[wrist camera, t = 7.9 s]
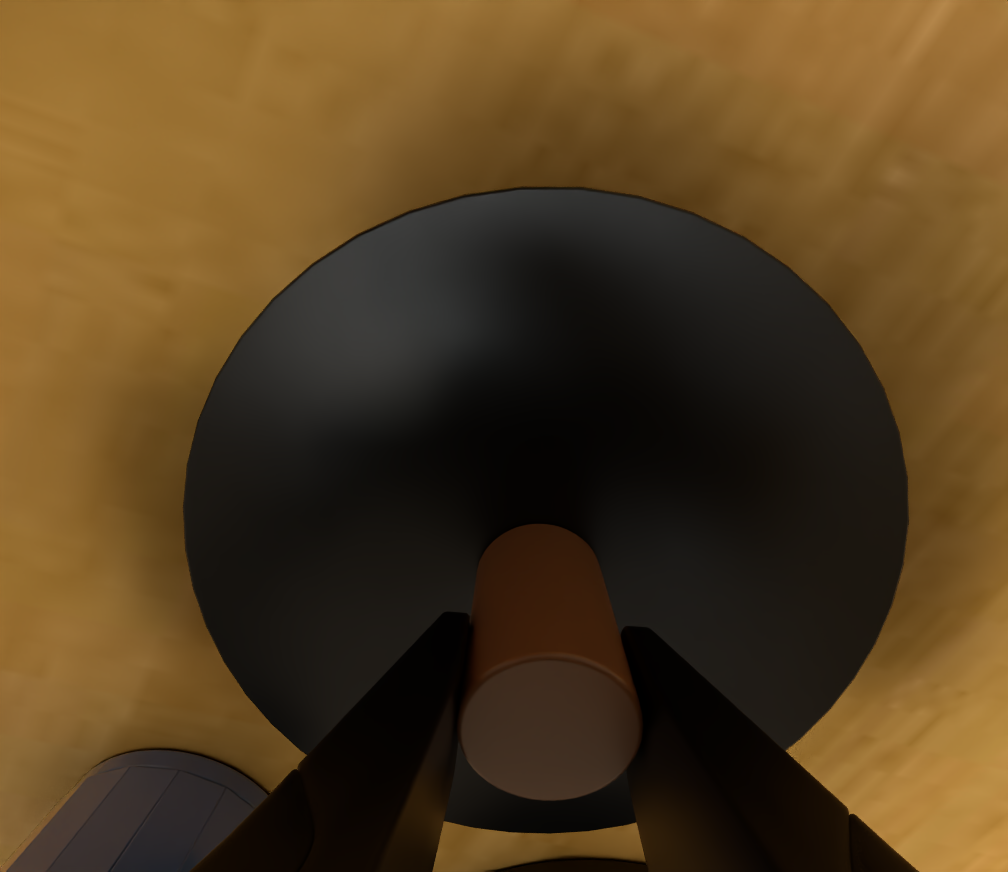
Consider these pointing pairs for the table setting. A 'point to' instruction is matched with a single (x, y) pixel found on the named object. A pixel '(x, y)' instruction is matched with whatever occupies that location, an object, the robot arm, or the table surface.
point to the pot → (582, 866)
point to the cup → (140, 816)
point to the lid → (546, 486)
